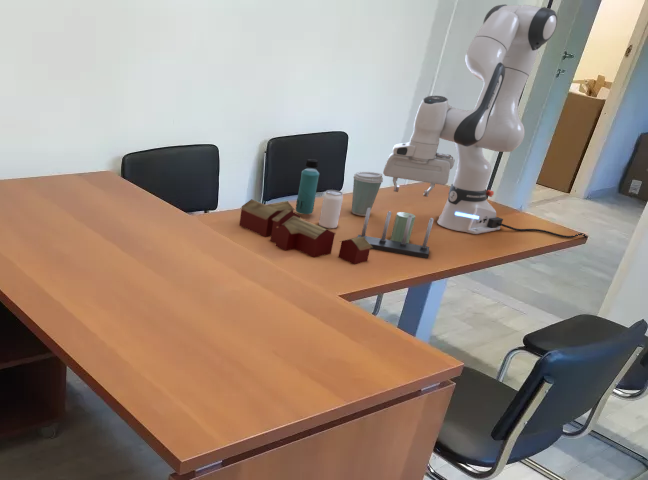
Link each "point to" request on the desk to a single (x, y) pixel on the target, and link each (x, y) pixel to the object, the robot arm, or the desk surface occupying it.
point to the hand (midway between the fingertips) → (410, 193)
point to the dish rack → (395, 245)
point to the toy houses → (298, 232)
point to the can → (331, 209)
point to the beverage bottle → (307, 188)
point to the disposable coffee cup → (365, 191)
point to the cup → (402, 227)
